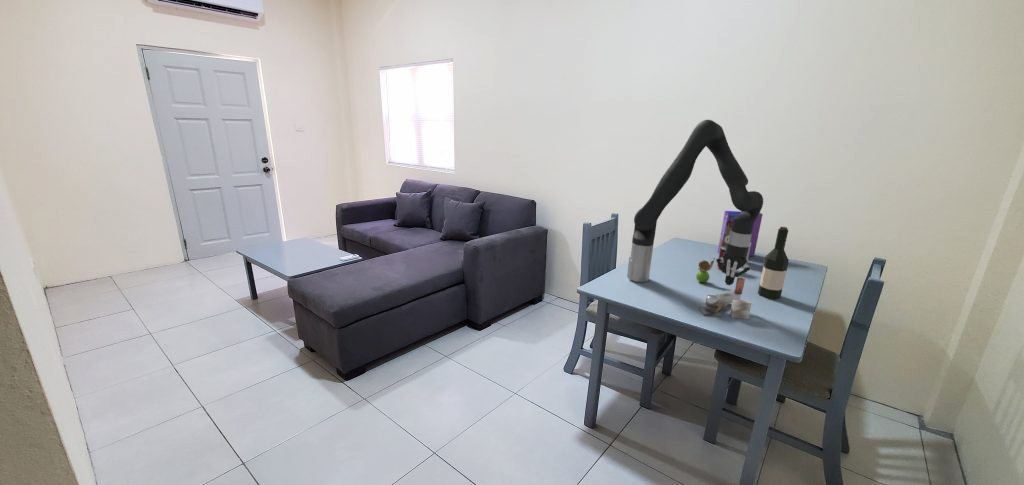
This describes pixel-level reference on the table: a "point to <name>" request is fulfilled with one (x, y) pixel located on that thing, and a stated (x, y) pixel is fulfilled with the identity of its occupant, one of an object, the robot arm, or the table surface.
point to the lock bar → (726, 295)
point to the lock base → (737, 309)
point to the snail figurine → (704, 270)
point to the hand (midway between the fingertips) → (728, 284)
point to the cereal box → (727, 227)
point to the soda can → (722, 252)
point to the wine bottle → (774, 268)
